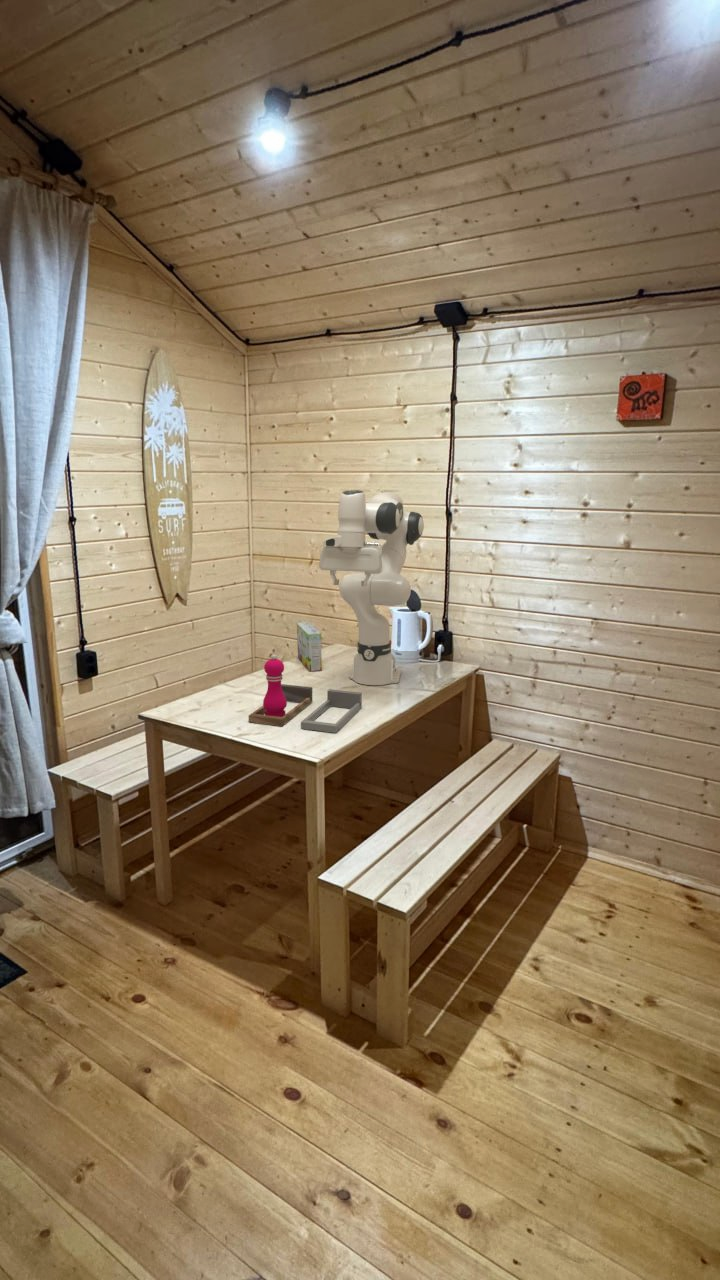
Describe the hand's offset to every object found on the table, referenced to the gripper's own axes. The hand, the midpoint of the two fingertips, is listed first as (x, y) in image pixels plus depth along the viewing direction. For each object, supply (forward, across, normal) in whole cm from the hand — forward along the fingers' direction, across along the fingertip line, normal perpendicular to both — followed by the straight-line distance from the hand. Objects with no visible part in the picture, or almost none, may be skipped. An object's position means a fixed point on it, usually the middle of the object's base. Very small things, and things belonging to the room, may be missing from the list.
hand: (349, 585), depth 221 cm
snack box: (+34, +30, -42) cm, 61 cm away
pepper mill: (+41, +17, +19) cm, 48 cm away
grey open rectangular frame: (+40, 0, +14) cm, 43 cm away
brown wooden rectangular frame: (+40, +17, +14) cm, 45 cm away
